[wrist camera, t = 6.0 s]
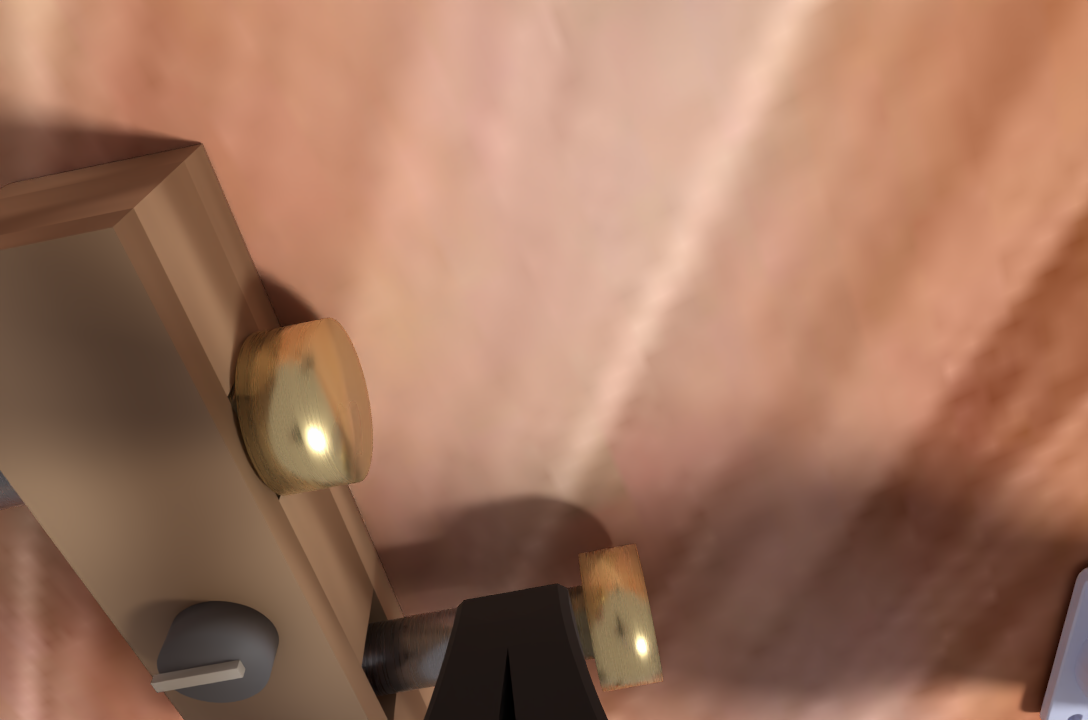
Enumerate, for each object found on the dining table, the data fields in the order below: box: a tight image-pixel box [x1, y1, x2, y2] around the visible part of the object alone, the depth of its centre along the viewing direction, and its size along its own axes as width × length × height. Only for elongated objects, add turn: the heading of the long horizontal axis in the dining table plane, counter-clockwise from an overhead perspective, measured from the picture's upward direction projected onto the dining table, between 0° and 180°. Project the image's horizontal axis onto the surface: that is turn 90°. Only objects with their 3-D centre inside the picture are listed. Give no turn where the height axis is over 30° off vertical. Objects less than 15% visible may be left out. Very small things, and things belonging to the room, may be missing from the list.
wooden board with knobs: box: [0, 144, 434, 720], centre depth 18 cm, size 4×18×5 cm, turn 10°
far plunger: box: [361, 544, 663, 696], centre depth 20 cm, size 8×3×3 cm, turn 100°
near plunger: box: [0, 318, 373, 510], centre depth 16 cm, size 8×3×3 cm, turn 100°
